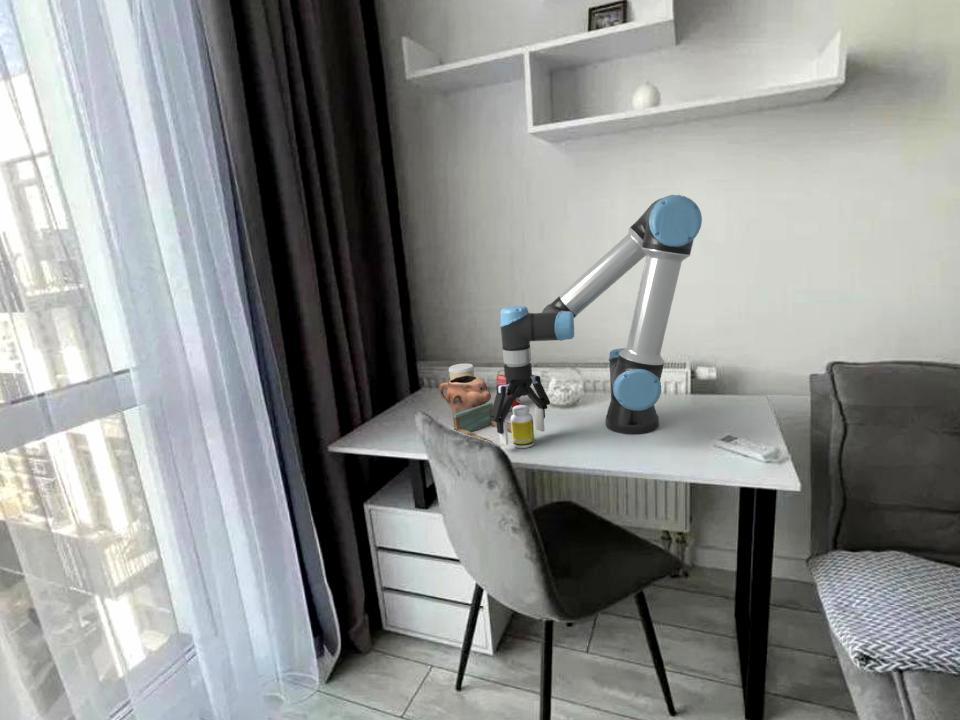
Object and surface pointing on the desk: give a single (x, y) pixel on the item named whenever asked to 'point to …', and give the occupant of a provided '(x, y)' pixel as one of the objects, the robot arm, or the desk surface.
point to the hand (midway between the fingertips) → (522, 436)
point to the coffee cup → (461, 370)
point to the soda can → (502, 381)
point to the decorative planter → (465, 393)
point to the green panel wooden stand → (475, 420)
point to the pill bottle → (522, 427)
